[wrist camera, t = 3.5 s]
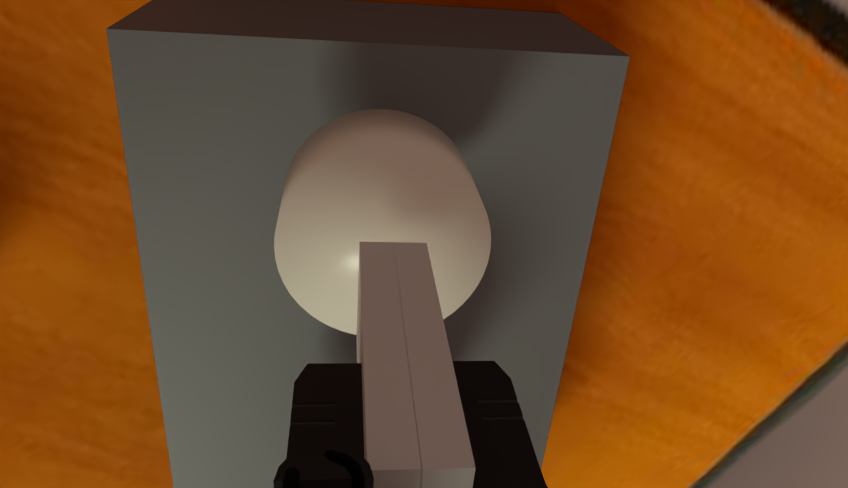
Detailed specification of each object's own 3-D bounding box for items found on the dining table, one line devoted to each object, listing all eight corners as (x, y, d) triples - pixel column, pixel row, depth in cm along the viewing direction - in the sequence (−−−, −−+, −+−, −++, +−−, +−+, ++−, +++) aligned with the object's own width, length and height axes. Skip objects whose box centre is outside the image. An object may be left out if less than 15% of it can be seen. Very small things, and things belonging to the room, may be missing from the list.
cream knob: (296, 213, 25) (277, 337, 18) (293, 62, 22) (269, 142, 16) (443, 215, 26) (478, 337, 19) (457, 70, 23) (503, 150, 16)
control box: (219, 488, 40) (192, 618, 33) (169, -11, 26) (106, 28, 19) (484, 481, 42) (512, 602, 35) (560, 13, 28) (629, 56, 21)
